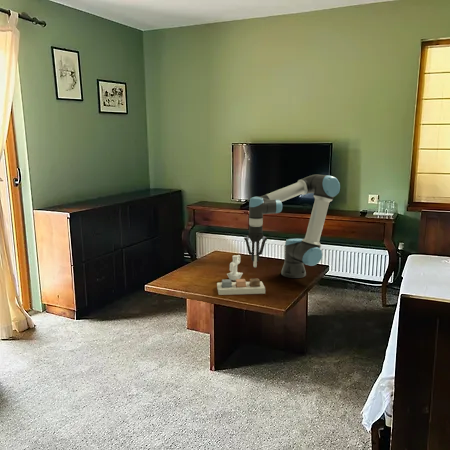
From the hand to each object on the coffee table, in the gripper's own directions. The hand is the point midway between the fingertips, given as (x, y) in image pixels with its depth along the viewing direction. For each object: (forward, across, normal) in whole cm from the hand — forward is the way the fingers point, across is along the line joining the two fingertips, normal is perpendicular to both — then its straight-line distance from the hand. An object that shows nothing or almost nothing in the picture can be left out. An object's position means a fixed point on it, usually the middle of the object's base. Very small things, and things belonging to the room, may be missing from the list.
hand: (255, 266), depth 250 cm
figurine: (+14, +9, -20) cm, 26 cm away
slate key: (+12, +16, 0) cm, 20 cm away
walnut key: (+12, 0, 0) cm, 12 cm away
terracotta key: (+12, +8, 0) cm, 14 cm away
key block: (+14, +8, 0) cm, 16 cm away
